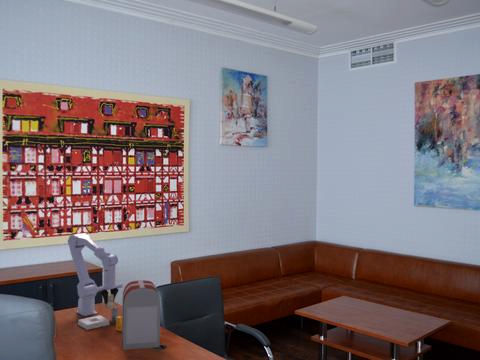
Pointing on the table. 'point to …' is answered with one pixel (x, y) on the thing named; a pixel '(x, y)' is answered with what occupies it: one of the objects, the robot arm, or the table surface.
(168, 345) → the table surface
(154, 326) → the grey arched box
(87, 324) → the socket block
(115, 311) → the round peg
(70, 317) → the table surface
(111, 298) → the square peg
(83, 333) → the table surface
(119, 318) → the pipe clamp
